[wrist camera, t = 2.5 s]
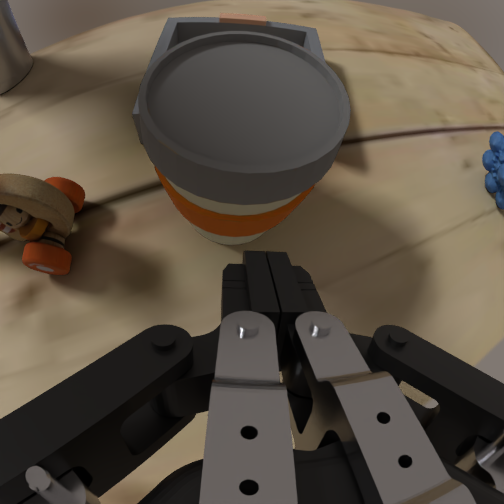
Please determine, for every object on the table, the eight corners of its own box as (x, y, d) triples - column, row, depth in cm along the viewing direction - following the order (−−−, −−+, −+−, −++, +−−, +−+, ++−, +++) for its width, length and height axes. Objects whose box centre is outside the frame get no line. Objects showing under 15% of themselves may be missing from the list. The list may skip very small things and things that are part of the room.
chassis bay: (324, 154, 32) (342, 121, 27) (141, 143, 30) (130, 108, 25) (307, 53, 38) (317, 24, 32) (170, 44, 36) (167, 13, 30)
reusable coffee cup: (160, 157, 30) (135, 40, 16) (277, 142, 32) (313, 30, 18) (175, 275, 27) (134, 200, 13) (310, 251, 29) (388, 167, 15)
